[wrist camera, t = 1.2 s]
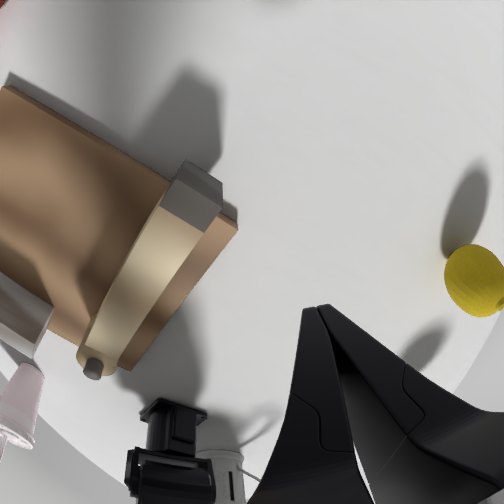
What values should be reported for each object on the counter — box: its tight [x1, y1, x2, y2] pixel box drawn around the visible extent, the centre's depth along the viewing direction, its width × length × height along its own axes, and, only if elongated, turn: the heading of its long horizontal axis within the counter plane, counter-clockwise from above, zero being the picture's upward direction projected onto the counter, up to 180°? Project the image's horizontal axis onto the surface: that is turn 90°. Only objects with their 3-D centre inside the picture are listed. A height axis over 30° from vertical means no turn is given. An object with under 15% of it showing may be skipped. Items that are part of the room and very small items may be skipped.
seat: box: [0, 86, 238, 380], centre depth 17 cm, size 18×20×6 cm
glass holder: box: [196, 450, 261, 504], centre depth 34 cm, size 9×14×15 cm, turn 122°
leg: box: [76, 160, 223, 376], centre depth 18 cm, size 17×3×4 cm, turn 143°
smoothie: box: [0, 363, 45, 463], centre depth 21 cm, size 6×6×14 cm
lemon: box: [444, 244, 504, 317], centre depth 20 cm, size 6×6×8 cm
